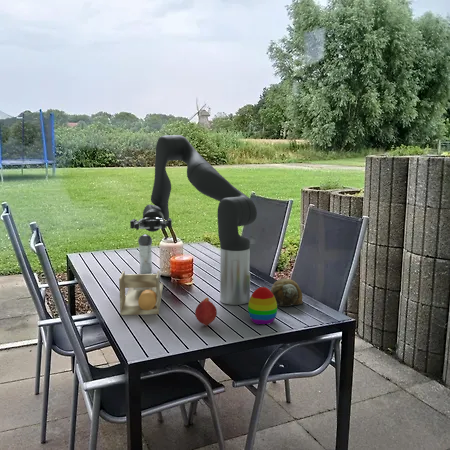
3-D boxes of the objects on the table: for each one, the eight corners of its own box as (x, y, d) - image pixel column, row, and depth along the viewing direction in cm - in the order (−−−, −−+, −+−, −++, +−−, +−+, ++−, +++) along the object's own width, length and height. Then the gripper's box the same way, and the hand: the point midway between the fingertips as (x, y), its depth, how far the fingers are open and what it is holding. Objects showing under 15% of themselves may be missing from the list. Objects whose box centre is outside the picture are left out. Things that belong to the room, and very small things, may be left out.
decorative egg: (262, 314, 134) (263, 281, 133) (282, 322, 128) (283, 287, 126) (241, 320, 129) (242, 286, 127) (262, 329, 123) (263, 293, 121)
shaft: (155, 277, 158) (154, 233, 155) (152, 289, 145) (151, 241, 142) (137, 278, 157) (136, 233, 155) (133, 290, 144) (132, 241, 142)
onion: (197, 330, 122) (197, 301, 120) (193, 322, 127) (193, 295, 126) (218, 328, 123) (219, 300, 122) (213, 320, 129) (213, 293, 127)
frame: (162, 286, 159) (162, 256, 158) (158, 314, 133) (157, 277, 132) (131, 287, 158) (130, 256, 157) (120, 315, 132) (119, 278, 131)
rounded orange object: (160, 298, 136) (159, 303, 132) (147, 308, 136) (145, 313, 132) (149, 286, 135) (148, 290, 131) (136, 296, 136) (134, 300, 132)
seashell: (280, 311, 137) (281, 285, 135) (264, 301, 145) (264, 277, 144) (311, 305, 142) (311, 280, 141) (293, 296, 150) (293, 273, 149)
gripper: (133, 210, 168) (127, 215, 152) (172, 209, 169) (170, 214, 153) (134, 230, 169) (128, 238, 153) (172, 229, 170) (171, 236, 154)
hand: (149, 226), depth 153 cm, fingers open, 8 cm apart
